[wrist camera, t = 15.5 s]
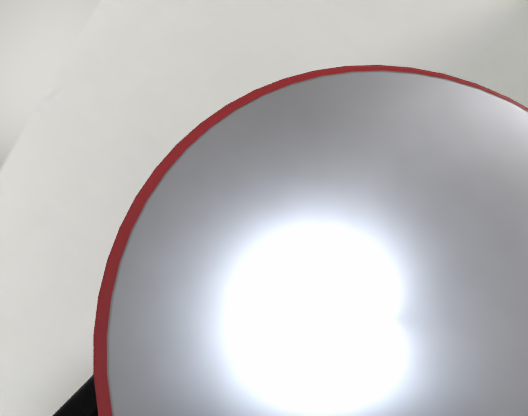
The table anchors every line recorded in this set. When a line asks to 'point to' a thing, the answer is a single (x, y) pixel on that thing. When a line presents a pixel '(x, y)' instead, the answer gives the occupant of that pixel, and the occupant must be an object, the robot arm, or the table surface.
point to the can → (327, 257)
